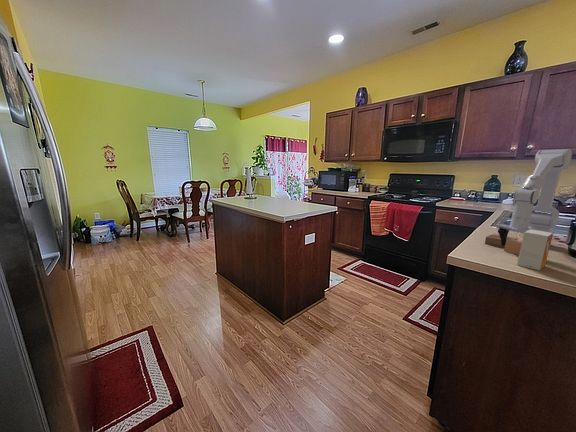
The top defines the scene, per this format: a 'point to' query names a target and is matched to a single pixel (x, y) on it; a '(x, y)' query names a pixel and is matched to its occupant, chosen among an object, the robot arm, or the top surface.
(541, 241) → the small box
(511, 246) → the terracotta cube
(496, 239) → the walnut block
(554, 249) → the top surface
